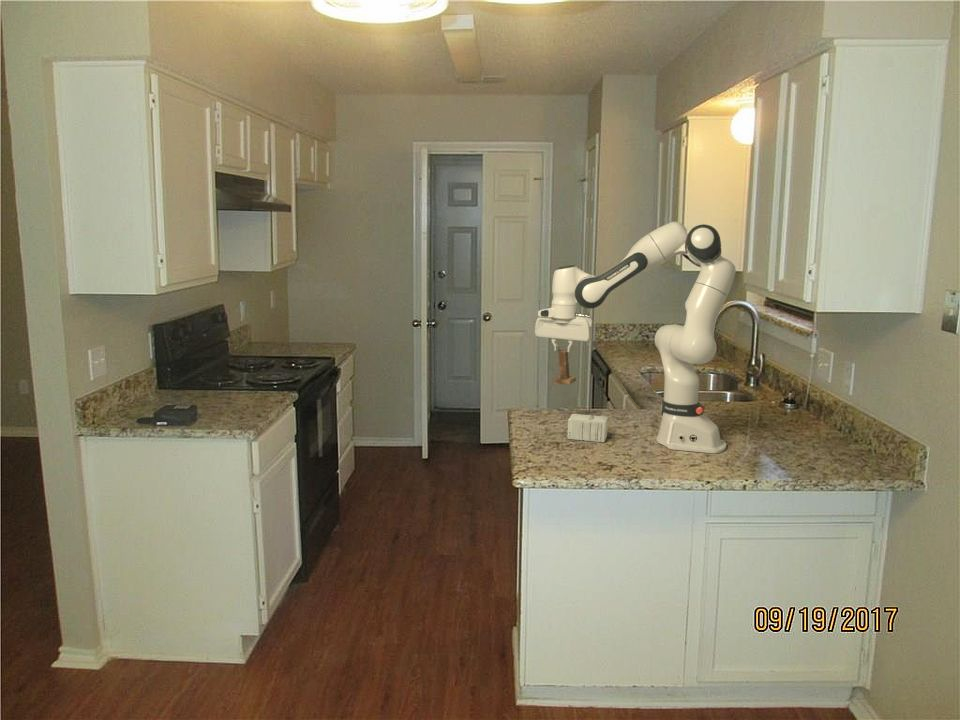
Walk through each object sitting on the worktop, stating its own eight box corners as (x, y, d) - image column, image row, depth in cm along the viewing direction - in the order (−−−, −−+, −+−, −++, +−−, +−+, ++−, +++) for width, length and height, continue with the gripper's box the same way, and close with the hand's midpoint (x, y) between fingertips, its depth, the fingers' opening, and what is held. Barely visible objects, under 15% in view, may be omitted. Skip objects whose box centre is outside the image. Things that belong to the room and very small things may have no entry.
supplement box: (571, 413, 258) (608, 416, 255) (570, 433, 260) (607, 437, 256) (568, 418, 251) (606, 421, 248) (567, 439, 253) (604, 443, 249)
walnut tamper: (576, 380, 266) (574, 348, 264) (570, 384, 261) (568, 352, 258) (560, 380, 269) (558, 348, 266) (554, 384, 263) (551, 352, 261)
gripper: (595, 313, 258) (593, 353, 260) (540, 309, 267) (539, 347, 269) (589, 315, 252) (587, 356, 255) (533, 311, 261) (532, 350, 264)
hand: (562, 351), depth 262 cm, fingers closed on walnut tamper, 2 cm apart
